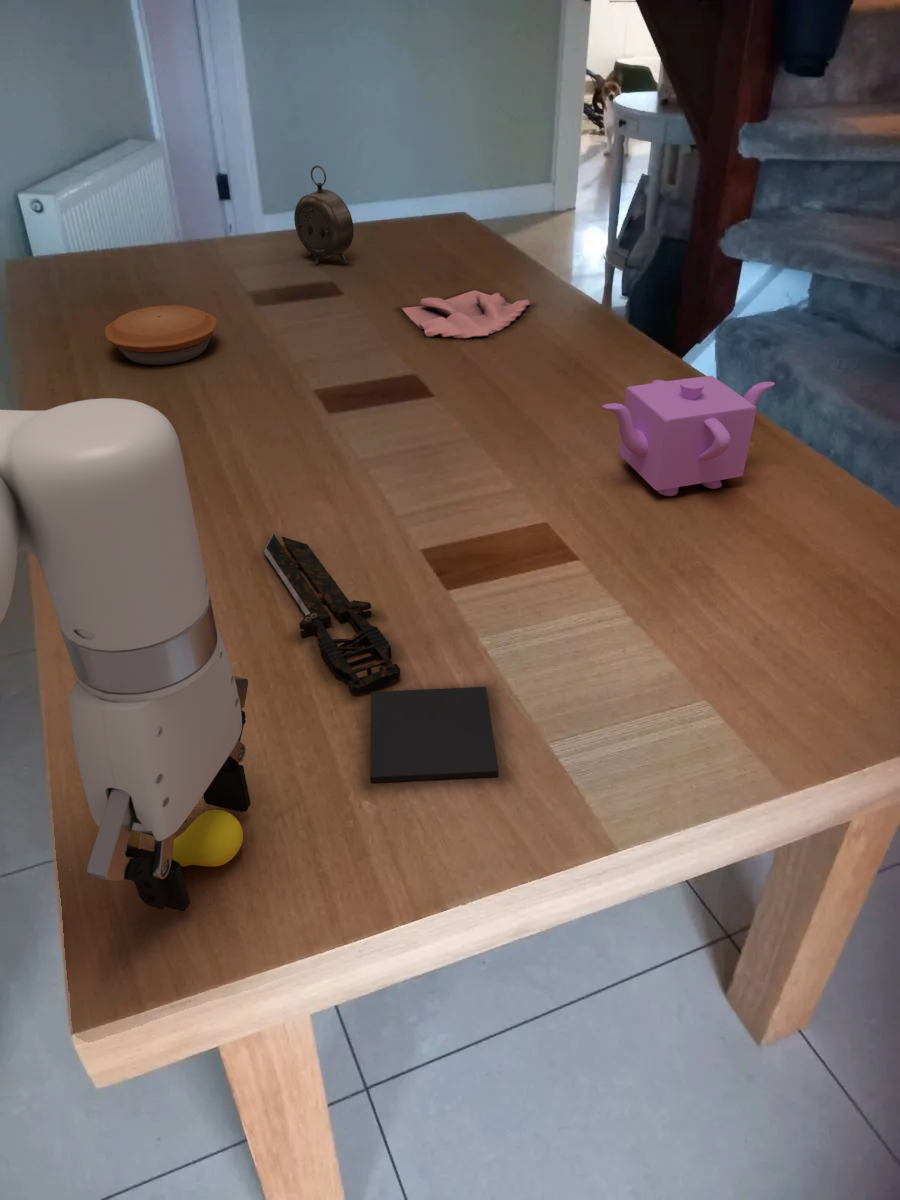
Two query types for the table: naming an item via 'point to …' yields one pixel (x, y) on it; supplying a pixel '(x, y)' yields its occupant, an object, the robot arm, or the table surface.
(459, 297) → the cloth
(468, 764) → the coaster
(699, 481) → the teapot
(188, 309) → the pie
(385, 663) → the knife
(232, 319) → the table surface
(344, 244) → the alarm clock
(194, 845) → the light bulb
